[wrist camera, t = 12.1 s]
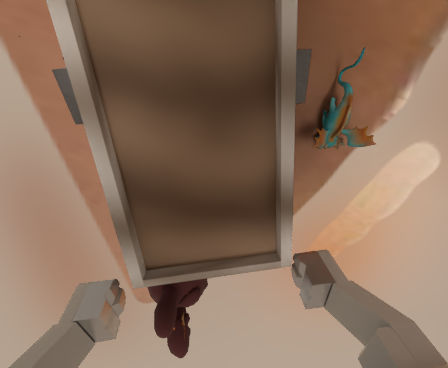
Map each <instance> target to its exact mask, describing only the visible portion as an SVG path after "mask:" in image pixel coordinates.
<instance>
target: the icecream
mask: <svg viewBox="0 0 448 368" xmlns="http://www.w3.org/2000/svg"><path fill="white" fill-rule="evenodd" d="M207 285H208V283H207V278H206V279H199V280H191V281H184V282H177V283H170V284H163V285H156V286H149V287H148V290H149V293H150V296H151V297H152V298H153V299H154V301H155V302H156V303H157V306H156V309H155V312H154V314H155V315H154V329H155V332H156V334H157V336H159V337H160V338H166V337H167V339H168V341H167V342H168V347H169V349H170V352H171V353H172V354H174V355H175V356H177V357H178V358H183V357H184V356H185V355H186V353H187V352H188V347H189V336H190V328H189V327H188V322H189V320H190V317H189V314H188V313H186V308H185V307H189V306H191V305H194V304H195V303H196V302H197V301H198V300H199V298H200V296H201V295H202V293H203V291H204V289H205V288H206V287H207Z"/></svg>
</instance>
